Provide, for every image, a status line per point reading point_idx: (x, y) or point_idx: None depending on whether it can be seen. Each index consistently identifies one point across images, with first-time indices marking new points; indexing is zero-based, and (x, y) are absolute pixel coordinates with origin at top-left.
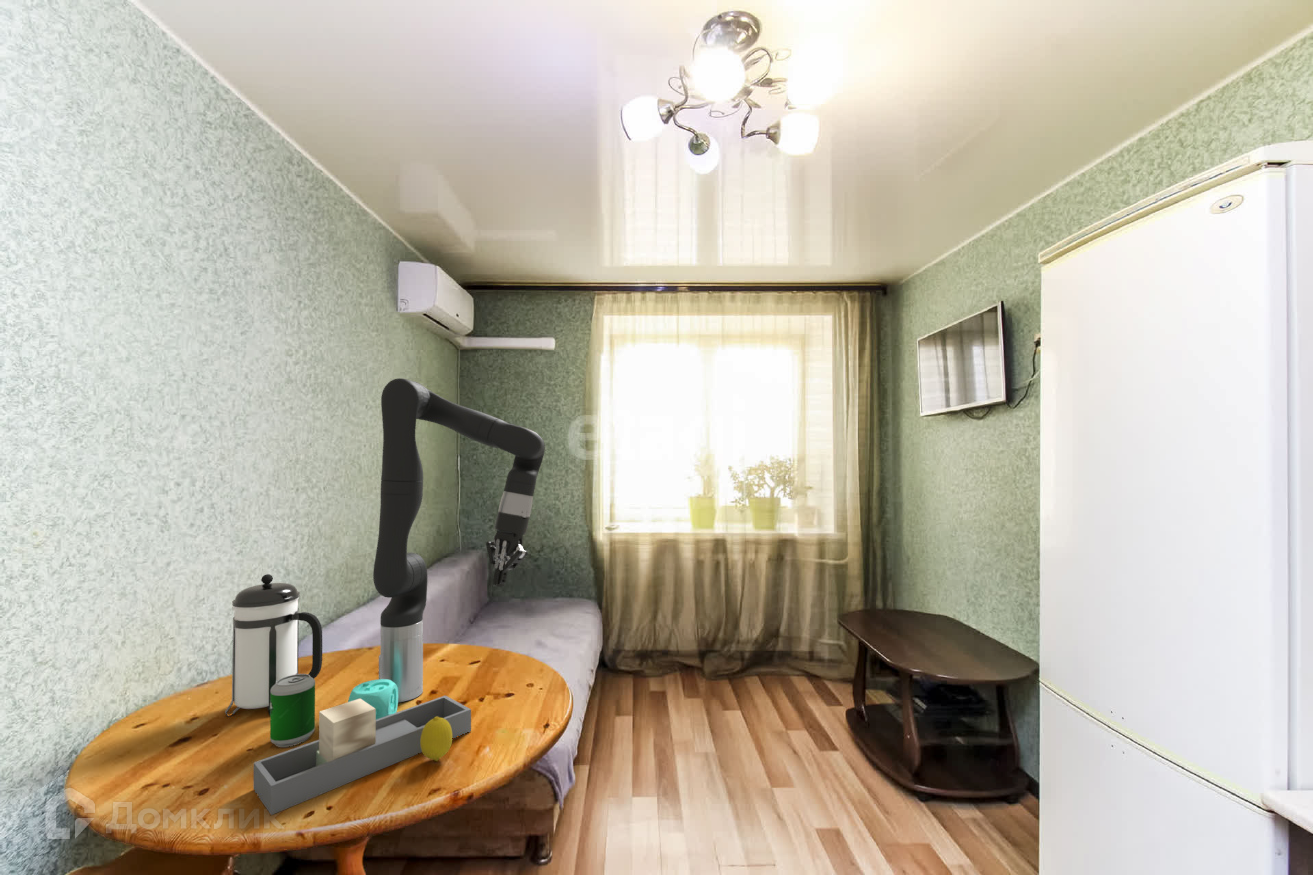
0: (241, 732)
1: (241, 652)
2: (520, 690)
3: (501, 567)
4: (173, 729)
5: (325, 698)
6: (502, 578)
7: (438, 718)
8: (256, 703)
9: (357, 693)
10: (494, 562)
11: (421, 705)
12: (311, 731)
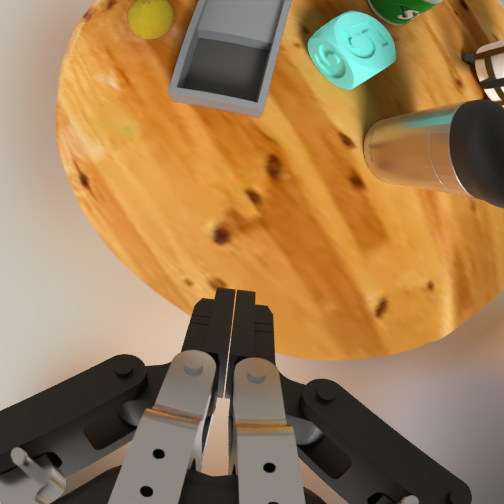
0: (444, 18)
1: None
2: (216, 259)
3: (182, 365)
4: (488, 22)
5: None
6: (189, 326)
7: (140, 4)
8: (479, 48)
9: (359, 12)
10: (300, 400)
11: (267, 64)
12: (373, 7)
